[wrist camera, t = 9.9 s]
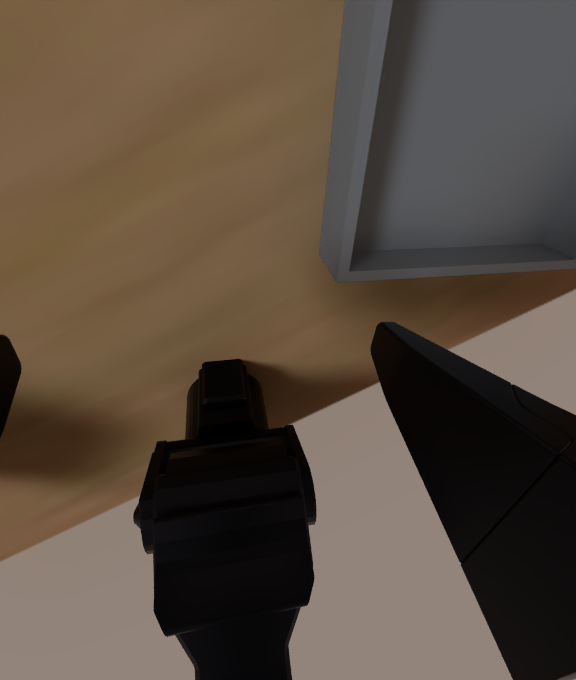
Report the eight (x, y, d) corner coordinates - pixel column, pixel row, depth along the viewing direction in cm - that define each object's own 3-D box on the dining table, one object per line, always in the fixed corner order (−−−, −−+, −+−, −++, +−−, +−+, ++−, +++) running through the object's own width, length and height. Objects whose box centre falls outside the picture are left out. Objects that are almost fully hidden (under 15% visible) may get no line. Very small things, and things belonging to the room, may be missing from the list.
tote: (534, 246, 24) (577, 268, 21) (319, 255, 21) (336, 282, 18) (707, -105, 14) (824, -145, 12) (362, -167, 12) (409, -238, 9)
